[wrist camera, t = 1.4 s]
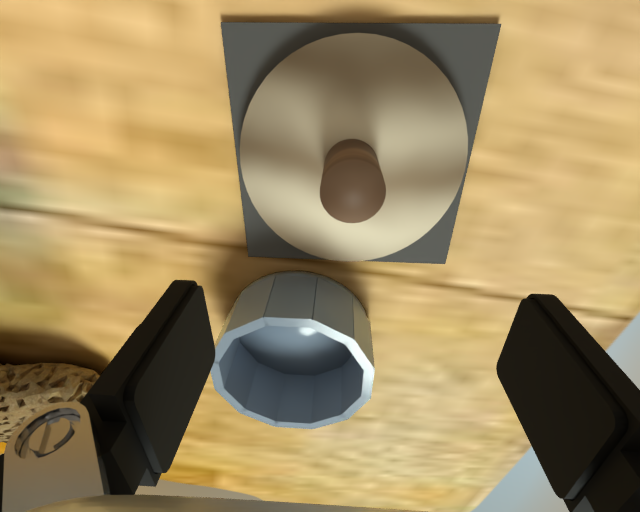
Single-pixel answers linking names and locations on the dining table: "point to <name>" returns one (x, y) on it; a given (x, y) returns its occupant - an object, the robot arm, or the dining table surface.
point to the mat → (428, 38)
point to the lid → (353, 147)
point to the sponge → (38, 390)
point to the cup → (295, 352)
